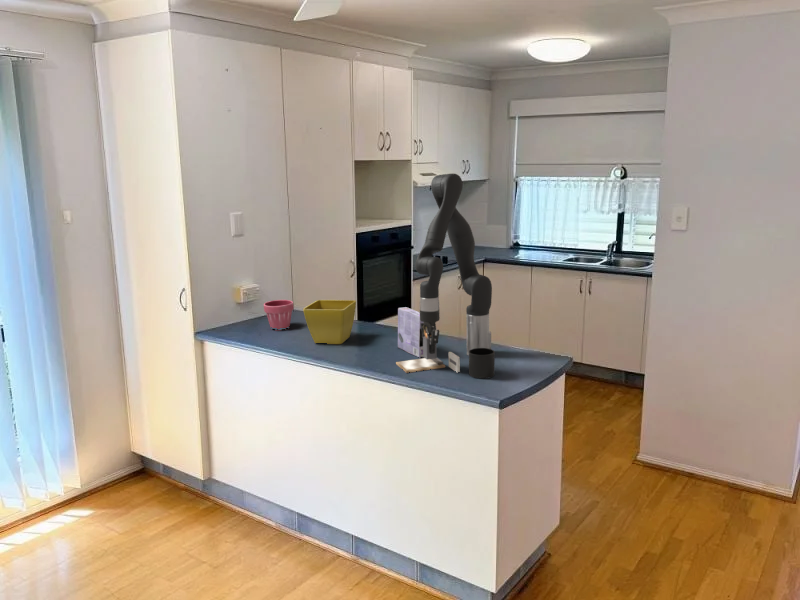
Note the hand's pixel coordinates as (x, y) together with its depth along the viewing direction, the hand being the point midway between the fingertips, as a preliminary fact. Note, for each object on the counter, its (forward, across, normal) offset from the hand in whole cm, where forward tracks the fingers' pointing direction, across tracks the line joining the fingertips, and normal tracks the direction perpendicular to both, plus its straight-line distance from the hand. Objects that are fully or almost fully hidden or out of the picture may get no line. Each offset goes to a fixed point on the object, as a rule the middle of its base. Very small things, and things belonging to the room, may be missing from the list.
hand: (430, 351), depth 251 cm
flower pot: (+7, +54, +26) cm, 61 cm away
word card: (+6, -6, -8) cm, 12 cm away
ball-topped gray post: (+2, 0, 0) cm, 2 cm away
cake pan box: (+7, +22, -1) cm, 23 cm away
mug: (+7, -15, -16) cm, 23 cm away
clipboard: (+6, +4, +3) cm, 8 cm away
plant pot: (+7, +87, +44) cm, 98 cm away
